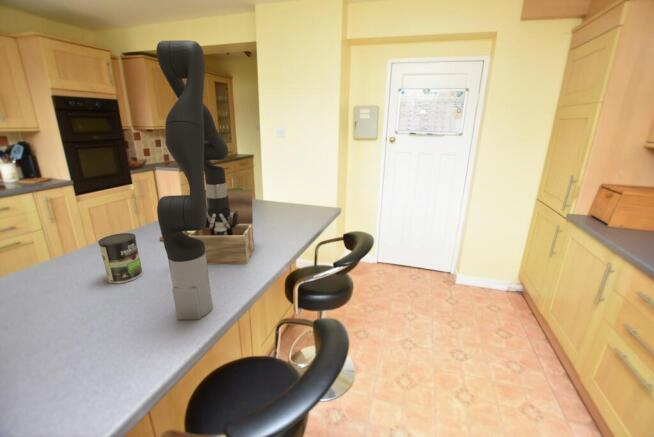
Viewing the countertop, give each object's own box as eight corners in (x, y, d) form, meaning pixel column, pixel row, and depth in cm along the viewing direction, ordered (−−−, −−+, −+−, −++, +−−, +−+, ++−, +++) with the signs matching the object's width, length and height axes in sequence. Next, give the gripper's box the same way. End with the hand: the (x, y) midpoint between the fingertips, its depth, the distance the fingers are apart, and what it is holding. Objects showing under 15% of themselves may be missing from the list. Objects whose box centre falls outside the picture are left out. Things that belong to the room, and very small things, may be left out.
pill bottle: (212, 244, 117) (210, 222, 114) (221, 239, 122) (219, 218, 119) (223, 246, 115) (221, 224, 112) (232, 241, 120) (230, 220, 117)
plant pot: (241, 203, 197) (239, 186, 194) (249, 207, 189) (248, 189, 185) (223, 206, 190) (221, 188, 187) (231, 210, 181) (229, 192, 178)
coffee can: (149, 270, 108) (142, 233, 104) (126, 285, 99) (117, 245, 94) (125, 267, 110) (117, 231, 106) (99, 282, 101) (89, 242, 96)
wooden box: (246, 263, 114) (244, 236, 110) (190, 263, 114) (186, 236, 110) (254, 249, 127) (252, 224, 123) (204, 249, 126) (200, 224, 123)
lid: (251, 189, 122) (252, 189, 124) (199, 189, 122) (201, 189, 123) (252, 223, 123) (253, 223, 124) (200, 224, 122) (201, 223, 124)
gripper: (239, 192, 116) (243, 233, 121) (201, 192, 116) (207, 233, 121) (233, 197, 109) (238, 241, 114) (193, 197, 109) (199, 241, 114)
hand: (222, 237), depth 118 cm, fingers closed on pill bottle, 5 cm apart
